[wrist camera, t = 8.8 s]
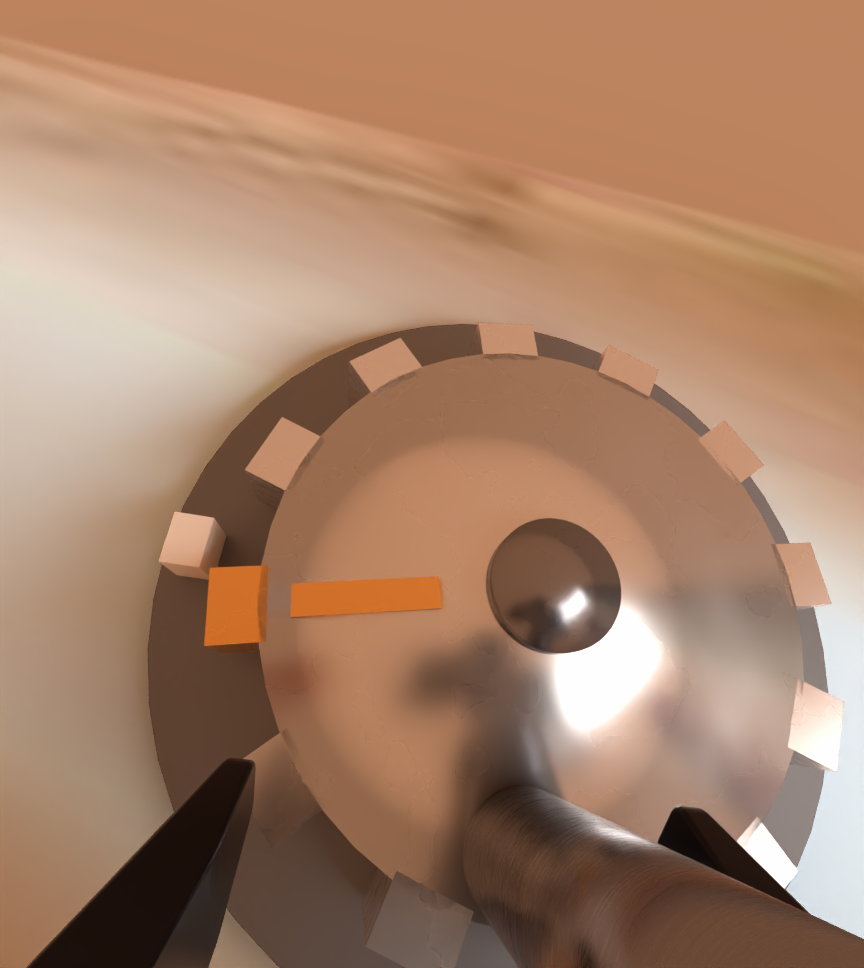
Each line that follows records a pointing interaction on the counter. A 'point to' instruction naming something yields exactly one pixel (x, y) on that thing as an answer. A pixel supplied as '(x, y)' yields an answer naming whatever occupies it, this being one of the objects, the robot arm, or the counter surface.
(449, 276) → the counter surface
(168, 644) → the stand
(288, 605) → the sprocket
